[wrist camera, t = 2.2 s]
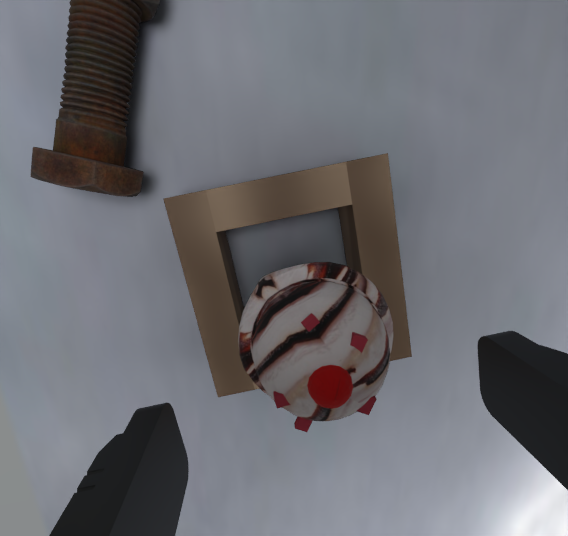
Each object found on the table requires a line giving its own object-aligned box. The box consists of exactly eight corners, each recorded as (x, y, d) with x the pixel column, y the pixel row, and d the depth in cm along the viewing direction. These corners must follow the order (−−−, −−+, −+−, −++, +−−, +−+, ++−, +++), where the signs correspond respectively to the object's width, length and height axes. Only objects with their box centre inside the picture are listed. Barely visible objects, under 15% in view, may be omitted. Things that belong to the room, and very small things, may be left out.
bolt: (160, -64, 21) (125, 191, 23) (59, -126, 18) (32, 174, 20) (194, -126, 16) (145, 202, 19) (64, -222, 13) (28, 181, 16)
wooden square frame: (365, 158, 22) (387, 153, 19) (388, 329, 25) (411, 356, 21) (180, 195, 22) (163, 198, 18) (224, 364, 25) (218, 397, 21)
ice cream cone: (266, 211, 23) (275, 262, 8) (346, 242, 24) (482, 338, 9) (237, 291, 24) (198, 458, 9) (314, 318, 25) (388, 510, 10)
